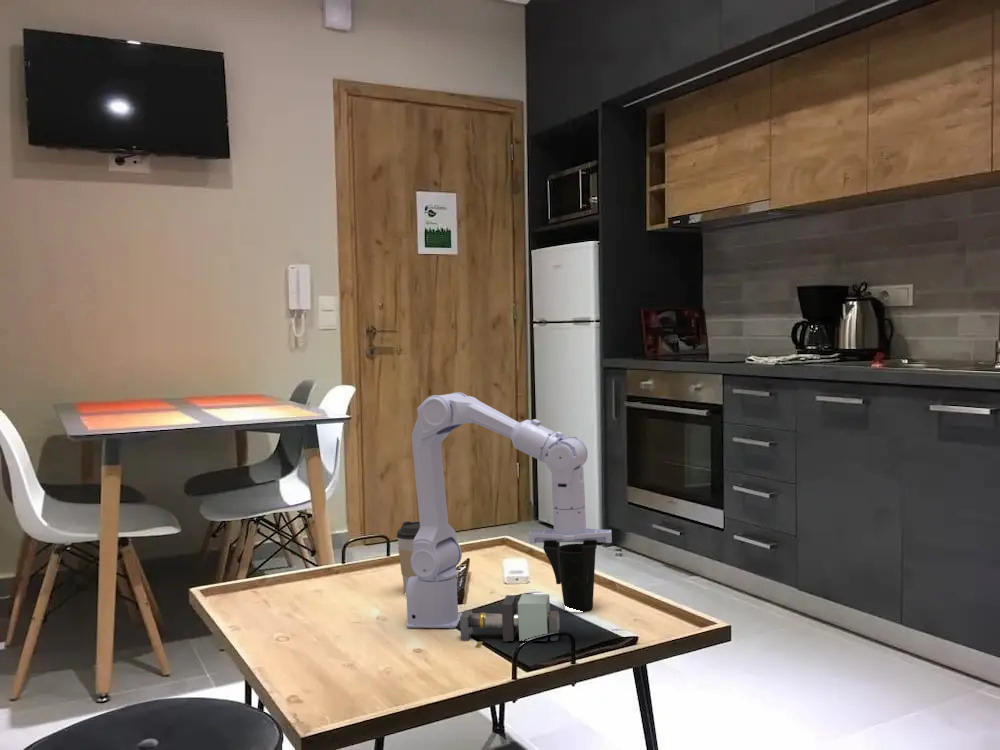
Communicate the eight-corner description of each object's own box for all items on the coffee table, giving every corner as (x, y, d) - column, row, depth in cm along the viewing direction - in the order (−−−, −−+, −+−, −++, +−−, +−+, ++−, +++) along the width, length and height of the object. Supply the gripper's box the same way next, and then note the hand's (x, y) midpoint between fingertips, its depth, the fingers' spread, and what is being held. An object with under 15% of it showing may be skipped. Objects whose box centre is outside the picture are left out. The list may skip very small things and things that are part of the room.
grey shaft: (457, 647, 152) (455, 622, 152) (465, 632, 159) (464, 609, 159) (555, 648, 149) (554, 623, 149) (559, 633, 156) (558, 610, 156)
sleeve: (519, 641, 152) (517, 603, 152) (523, 631, 158) (522, 594, 158) (547, 641, 152) (545, 603, 151) (550, 631, 157) (549, 594, 157)
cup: (596, 614, 166) (593, 553, 166) (556, 614, 168) (554, 552, 167) (599, 602, 174) (597, 543, 173) (561, 602, 175) (559, 543, 175)
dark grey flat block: (503, 641, 153) (501, 604, 153) (508, 630, 158) (506, 595, 158) (513, 641, 153) (511, 604, 152) (517, 630, 158) (516, 595, 158)
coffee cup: (449, 588, 188) (446, 520, 188) (424, 600, 181) (420, 528, 180) (416, 584, 193) (413, 517, 193) (390, 594, 186) (387, 525, 185)
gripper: (525, 511, 150) (528, 589, 151) (609, 510, 148) (612, 589, 148) (530, 503, 157) (533, 578, 158) (610, 502, 155) (613, 577, 155)
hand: (572, 582), depth 153 cm, fingers open, 4 cm apart
